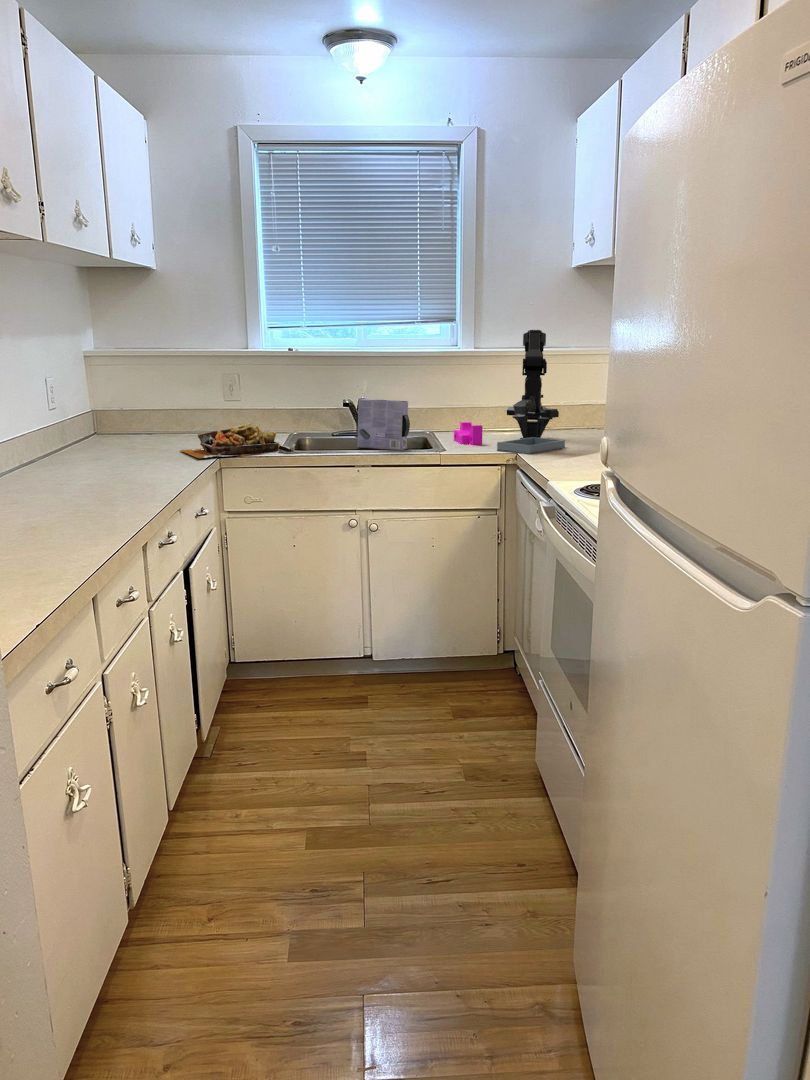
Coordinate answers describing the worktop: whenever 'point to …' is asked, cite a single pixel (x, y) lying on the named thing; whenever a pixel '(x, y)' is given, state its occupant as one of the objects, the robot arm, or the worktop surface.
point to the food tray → (237, 442)
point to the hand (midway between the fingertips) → (531, 436)
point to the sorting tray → (530, 445)
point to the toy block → (468, 434)
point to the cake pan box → (383, 424)
